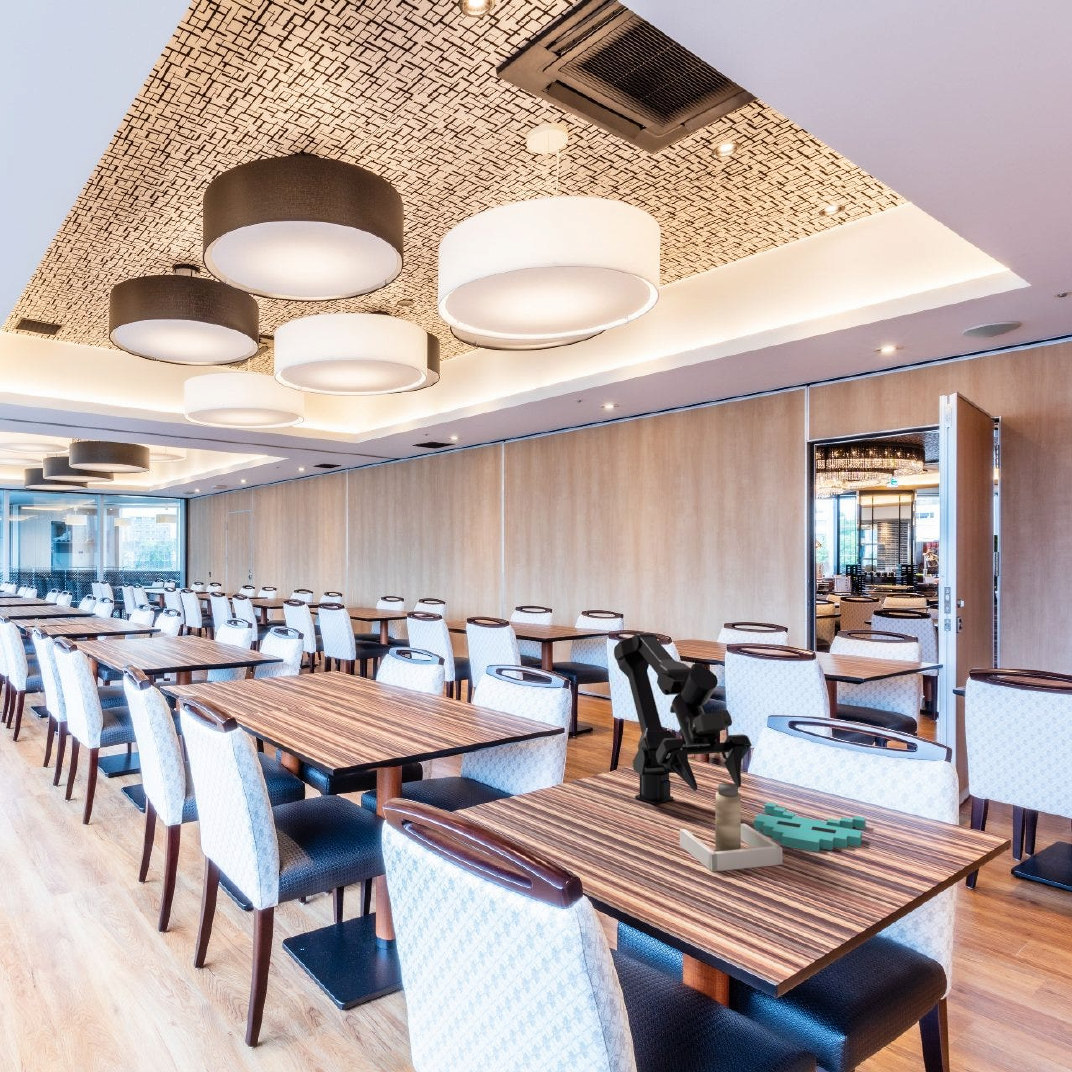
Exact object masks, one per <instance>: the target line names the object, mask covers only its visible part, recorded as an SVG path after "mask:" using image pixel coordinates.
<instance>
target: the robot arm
mask: <svg viewBox="0 0 1072 1072" xmlns="http://www.w3.org/2000/svg"><path fill="white" fill-rule="evenodd" d="M613 656H614V659H615V661H616V663H617V665H618V668H619V670H620V671H621V672H622V673H623V674H624V675H625V676H626V677H627V679H628V683H629V687H630V691H631V695H632V699H633V703H634V707H635V711H636V714H637V719H638V723H639V728H640V731H641V735H640V738H639V741H638V743H637V748H638V751H637V753H636V754H635V756H634V758H633V759H632V766H633V767H632V768H633V771H634V772H636V773H637V774H639V793H638V794H636V795H634V798H635V799H637V800H640V801H642V802H643V801H644V802H647V803H649V804H653V805H660V804H662V803H665V802H669V801H671V800H674V796H672V795H671V780H670V774H676V775H677V776H678V777H680V778H681V779H682V780H683V781H684V782H685V783H686V784H687V786H689V787H690V788H691V789H692V791H695V792H697V790H698V789H699V788H698V783H697V780H696V778H695V775H694V772H693V770H692V768H691V765H690V761H689V757H688V755H706V754H721V756H722V758H723V759H724V760H725V761H724V762H723V763H724V766H725V767H726V769H727V772H728V774H729V776H730V777H731V780H732V781H733V784H735V785H737V786H738V789H739V788H740V787H741V786H742V772H741V771H742V769H741V766H742V765H741V762H742V760H743V759H744V758H745V756H746V754H747V753H748V752H749V750H750V748H751V747H752V745H753V744H752V742H751V740H750V738H749V736H748V735H746V734H743V733H742V734H729V735H727V738H726V739H725V741H724V742H723V741H722V742H716V740H717V739H719V738H720V736H721V734H720V732H721V731H725V730H726V729H727V728H729V727H731V726H732V725H733V719H732V715H731V714H730V712H729V711H728V709H723V710H722V709H721V710H719V711H717V712H713V713H705V711H704V709H703V706H704V705H706V704H707V703H708V701H709V699H710V698H711V696H712V695H713V693H714V691H715V689H716V688H717V685H719V684H718V683H719V682H718V681H719V680H718V677H717V675H716V674H714V672H713V671H711V670H710V669H708V668H706V667H704V666H703V664H702V663H692V665H691V667H690V666H688V665H687V664H686V663H683V662H681V661H678V660H675V659H674V658H673V657H672V656H671V655H670V653H669V652H668V650H666V649H665V648H664V646H663V645H662V643H660V642H659V641H658V638H657V635H656V634H654V633H652V632H648V633H647V632H646V633H643V632H642V633H636V634H634V635H633V636H631V637H628V638H625V639H623V640H619V641H618V643H617V644H616V645H615V646H614V649H613ZM649 666H650V667H651V668H652V669H653V671H654V672H655V673H656V675H657V678H656V679H657V680H656V683H657V685H658V688H659V690H660V691H661V693H662V694H663V695H664V696H674V698H673V700H672V701H671V705H670V709H669V713H671V714H675V717H676V718H677V723H678V725H679V730H678V733H679V736H680V737H674V735H673V732H672V731H671V729H669V730H666V729H665V728H664V727H663V726H662V723H661V722H662V721H661V718H660V716H659V715H660V714H659V710H658V708H657V703H656V700H655V696H654V691H653V688H652V685H651V680H650V677H649V673H648V669H649ZM675 695H676V696H675ZM681 737H683V739H684V741H683V739H682V738H681ZM684 742H685V743H684Z"/></svg>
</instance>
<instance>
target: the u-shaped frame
mask: <svg viewBox="0 0 1072 1072" xmlns="http://www.w3.org/2000/svg"><path fill="white" fill-rule="evenodd" d="M741 842H743V843H745V844H746V845H747V846H749V848H741V849H738V850H728V851H717V852H715V850H713V849H712V848H711V847H709V846H708V845H706V844H705V843H704V842H702V841H701V840H700V839H698V838H697V837H696V836H695V835H694V834H692V833H691V832H689V831H688V830H687V829H685V828H680V829H679V846H680V847H681V848H683V849H684V850H685V851H686V852H687V853H688V854H690V855H691V856H692V857H693V858H695V860H697V861H698V862H699V863H701V864H702V865H703V866H705V868H707V869H708V870H709V871H711V873H712V872H721V871H730V870H731V871H733V870H741V869H751V868H761V867H769V866H770V867H771V866H772V867H773V866H779V865H783V846H782V845H781V846H780V845H779V844H778V843H776V842H774V840H772V839H769V837H767V836H766V835H764V834H763V833H761V832H759V831H758V830H756V829H754V827H753V828H752V827H751V826H749V825H748V824H746V823H741Z"/></svg>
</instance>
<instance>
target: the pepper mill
mask: <svg viewBox="0 0 1072 1072" xmlns="http://www.w3.org/2000/svg"><path fill="white" fill-rule="evenodd" d="M717 788H718V789H717V791H716V792H715V807H714V808H715V815H714V817H715V824H714V825H715V827H714V829H715V833H714V835H715V837H714V839H715V840H714V841H715V844H714V845H715V846H714V848H715V849H714V852H717V851H728V850H738V849H742V848H741V847H742V845H741V844H742V840H741V824H742V820H741V819H742V818H741V816H742V814H741V813H742V812H741V811H742V809H741V807H742V802H741V801H742V800H741V798H742V797H741V796H742V795H741V793H740V792H739V788H738V786H737V785H735V783H730V782H729V783H728V782H725V783H724V782H722V783H718V785H717Z"/></svg>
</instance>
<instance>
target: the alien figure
mask: <svg viewBox="0 0 1072 1072" xmlns="http://www.w3.org/2000/svg"><path fill="white" fill-rule="evenodd" d="M866 823H867V822H866V817H862V816H857V815H853V817H852V818H848V817H843V816H842V817H841V818H840V819H834V818H833V819H832V818H828V819H827V821H826V820H819V819H813V818H807V817H806V818H805V817H802V816H796V812H790V811H787V808H785V807H780V806H779V807H778V803H774V802H773V803H772V802H766V803H765V804H764V814H761V813H758V814H757V815H756V817H755V818H754V820H753V829H754V830H756V831H762V830H763V831H762V835H764V836H771V841H777V842H781V847H788V848H794V849H800V850H805V851H810V852H816V853H819V852H820V849H823V850H829V851H833V849H834V847H836V848H840V849H846V850H847V847H848V846H852V847H857V846H858V847H857V848H860V847H861V844H862V841H863V839H862V838H863V831H862V830H865V829H866ZM853 827H856V828H855V829H853ZM859 828H861V829H859Z"/></svg>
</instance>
